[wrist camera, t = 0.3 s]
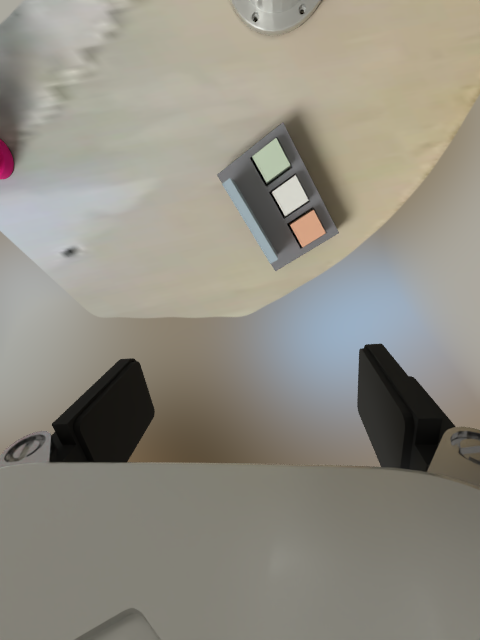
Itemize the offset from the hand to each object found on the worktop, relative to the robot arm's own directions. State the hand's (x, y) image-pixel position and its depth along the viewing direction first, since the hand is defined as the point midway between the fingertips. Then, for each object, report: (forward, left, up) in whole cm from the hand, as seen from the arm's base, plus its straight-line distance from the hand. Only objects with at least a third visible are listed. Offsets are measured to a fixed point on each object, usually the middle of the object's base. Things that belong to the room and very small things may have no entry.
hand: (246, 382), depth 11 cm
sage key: (-10, +7, -33) cm, 36 cm away
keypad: (-5, +5, -35) cm, 36 cm away
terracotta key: (0, +7, -33) cm, 34 cm away
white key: (-5, +7, -33) cm, 35 cm away
